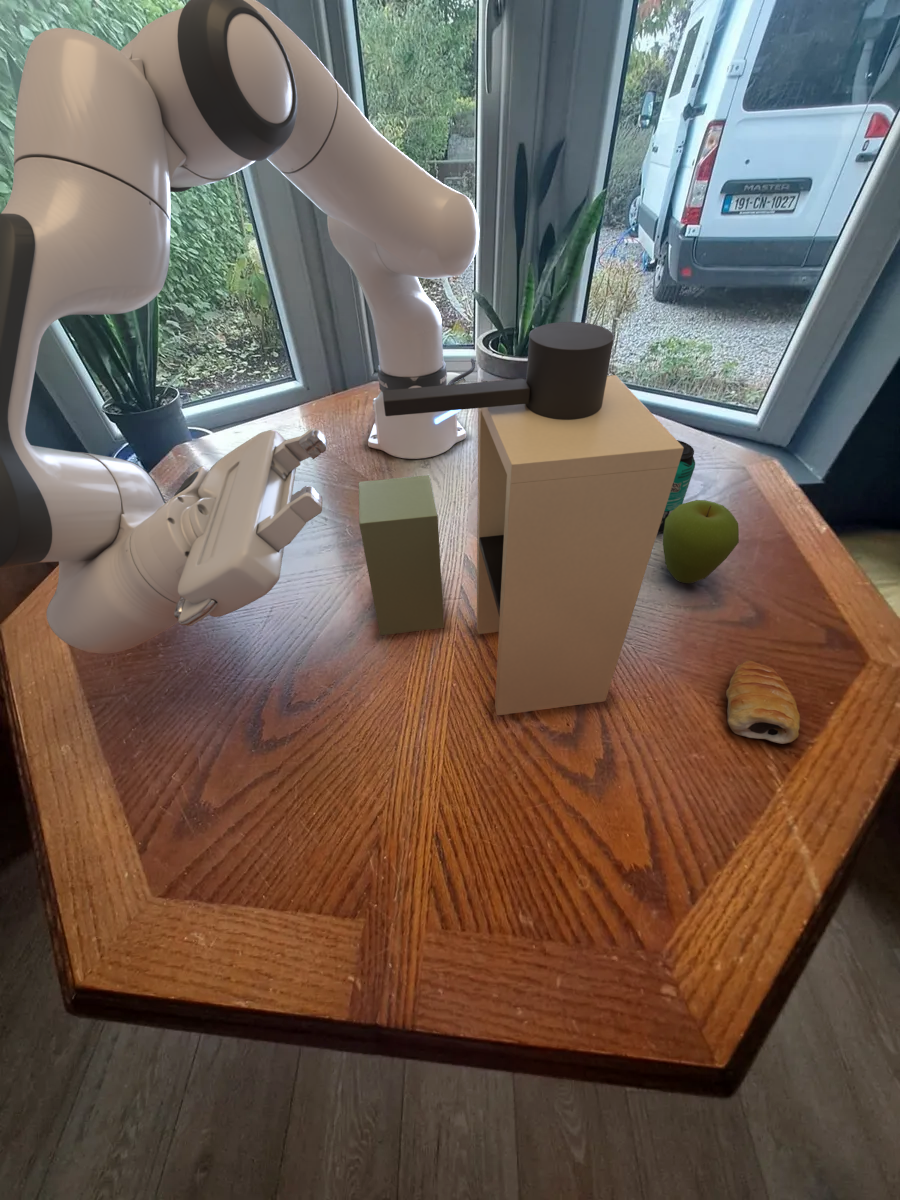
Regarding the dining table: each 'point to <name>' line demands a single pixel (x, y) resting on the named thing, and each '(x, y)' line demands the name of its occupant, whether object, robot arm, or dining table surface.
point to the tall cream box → (566, 542)
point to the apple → (698, 539)
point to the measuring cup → (530, 378)
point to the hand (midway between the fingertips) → (319, 464)
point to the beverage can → (680, 482)
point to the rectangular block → (402, 553)
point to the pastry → (761, 705)
